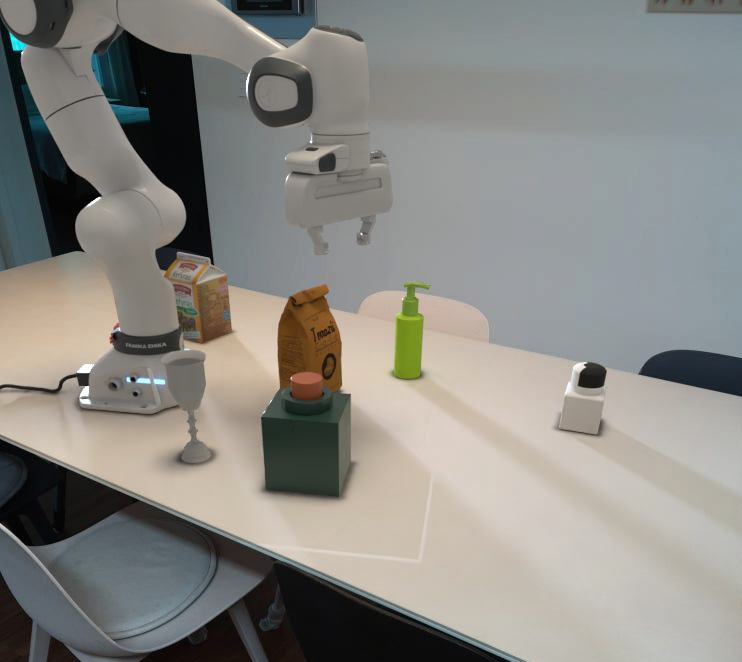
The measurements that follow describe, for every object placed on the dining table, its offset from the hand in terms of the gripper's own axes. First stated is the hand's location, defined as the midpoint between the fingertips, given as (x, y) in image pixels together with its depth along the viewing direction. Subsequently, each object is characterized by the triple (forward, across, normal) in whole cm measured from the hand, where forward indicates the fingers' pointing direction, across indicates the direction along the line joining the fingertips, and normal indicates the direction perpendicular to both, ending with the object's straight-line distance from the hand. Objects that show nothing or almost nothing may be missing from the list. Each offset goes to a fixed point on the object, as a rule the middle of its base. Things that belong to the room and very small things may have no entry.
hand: (342, 249), depth 115 cm
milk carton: (+32, -14, -66) cm, 74 cm away
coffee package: (+33, -8, -18) cm, 39 cm away
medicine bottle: (+34, -36, +28) cm, 57 cm away
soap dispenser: (+34, -31, -12) cm, 47 cm away
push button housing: (+33, +15, +6) cm, 37 cm away
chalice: (+33, +24, -13) cm, 43 cm away
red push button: (+19, +15, +6) cm, 25 cm away
